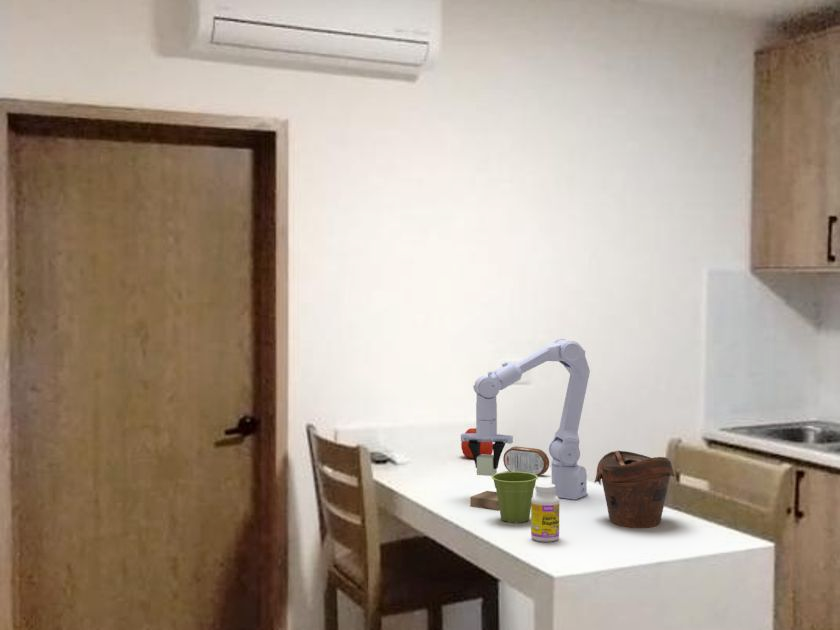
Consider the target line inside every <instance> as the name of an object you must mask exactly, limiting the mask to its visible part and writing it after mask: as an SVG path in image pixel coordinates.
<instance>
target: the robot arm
mask: <svg viewBox="0 0 840 630" xmlns="http://www.w3.org/2000/svg"><path fill="white" fill-rule="evenodd" d="M546 362H559V363H560V364H561V365H563V367H564V368H565V369H566V371H567V372H568V374H569V378H568V384H567V389H566V394H565V398H564V404H563V408H562V414H561V418H560V423H559V427H558V429H557V430H556V432H555V433H554V437H553V440H552V441H551V442H550V443H549V446H548V453H549V455H550V456H551V457H552V460H551V484H554V485H555V492H554V495H556V496H557V497H558V498H559V499H567V500H575V501H576V500H579V499H581V498H583V497H586V496H588V495H589V494H588V492H587V491H588V490H587V488H588V487H587V483H588V482H587V476H588V475H587V474H588V473H587V469H586V468H585V466H582V465H578V461H579V460H580V456H581V452H580V451H581V450H580V437H579V434H578V431H579V427H580V421H581V417H582V412H583V406H584V402H585V398H586V392H587V386H588V382H589V378H590V367H589V363H588V361H587V358H586V350H585V349H584V348H583V347H582V346H581V344H580V343H579V342H578V341H575V340H567V339H564V338H559V339H556V340H555V341H554V342H550V343H548V344H546V345H544V346H543V347H541V348H540V349H538V350H536V351H535V352H533V353H531V354H530V355H528V356H527V357H524V358H522V359H521V360H520V361H518V362H517V363H516V362H512V361H509V362H506V361H503V363H501V365H502V366H500V367H498V368H496V369H495V370H493V371H491V370H490V371H487V375H481V376H479V377H478V378H477V379H476V381H474V385H473V387H472V388H473V390H474V392H475V394H476V403H475V405H476V406H475V410H476V411H475V412H476V413H475V417H476V419H475V420H476V421H475V422H476V426H475V427H476V433H466V432H464V433H463V432H462V433H461V434H460V442H462V441H469V443H468V447H469V449H470V450H471V453H472V455H473V458H472V459H473V460H474V464H475V465H474V466H475V468H476V469H477V457H478V456H479V455H480V446H481V442H492V443H493V451H492V455H494V462H493V467H494V469H498V468H499V462H500V460H501V459H500V458H501V455H502V453H503V450H504V449H505V448H504V447H505V446H506V444H509V445H510V444H513V443H514V436H513V435H508V434H507V435H506V434H498V419H497V418H498V417H497V416H498V414H497V413H498V411H497V410H498V402H497V396H498V395H499V393H500V391H502V390H504V389H507V388H509V387H510V386H511V385H513V384H515V383H517V382H519V381H520V380H521V379H522V375H523V374H524V373H527V372H528V371H531V370H532V369H534V368H536V367H538V366H540V365H542V364H544V363H546ZM480 439H483V440H480Z"/></svg>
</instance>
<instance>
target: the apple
mask: <svg viewBox="0 0 840 630" xmlns="http://www.w3.org/2000/svg"><path fill="white" fill-rule="evenodd" d="M465 433H476V428H474V427H473V428H468V429H467V430H466V431H465ZM480 440H483V439H480ZM460 442H461V445H460V447H461V452H462V454H463V455H464V457H466V458H469V459H474V458H473V455H472V453H471V450H470V449H469V447H468V443H469V441H460ZM493 444H494V442H481V446H480V455H481V454H485V455H493Z"/></svg>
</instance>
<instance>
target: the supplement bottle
mask: <svg viewBox="0 0 840 630" xmlns="http://www.w3.org/2000/svg"><path fill="white" fill-rule="evenodd" d="M534 489H535V492H536V493H535V494H533V497H532V499H531V511H530V517H531V518H530V521H531V523H530V527H531V528H530V537H531V538H532V540H534V541H537V542H543V543H545V542H546V543H550V542H555V541H557V540H559V538H560V498H559V497H557V496H556V495H554V492H555V485H554V484H552V483H548V482H547V483H546V482H543V483H535V488H534Z"/></svg>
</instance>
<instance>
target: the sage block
mask: <svg viewBox="0 0 840 630" xmlns="http://www.w3.org/2000/svg"><path fill="white" fill-rule="evenodd" d="M493 462H494V454H492V455H485V454H481V455H479V456H478V457H477V468H476V475H477V476H487V477H488V476H489V477H492V475H494V474H497V472H498V471H497V469H498V468H497V469H494V467H493Z"/></svg>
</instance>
